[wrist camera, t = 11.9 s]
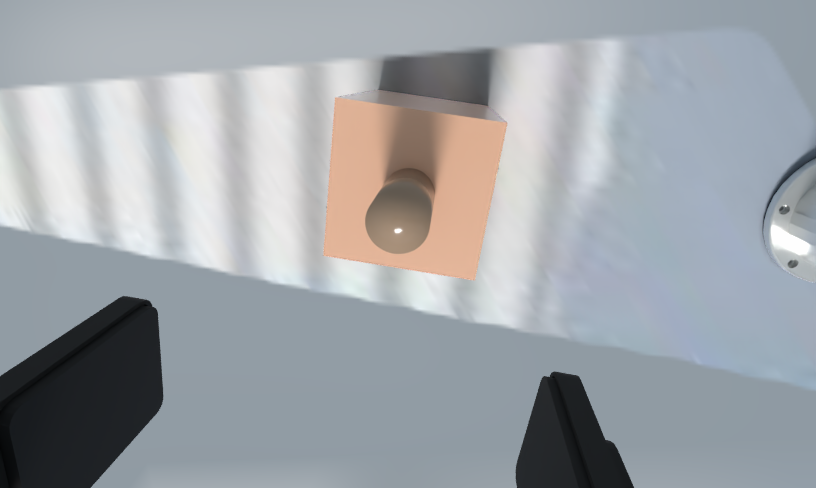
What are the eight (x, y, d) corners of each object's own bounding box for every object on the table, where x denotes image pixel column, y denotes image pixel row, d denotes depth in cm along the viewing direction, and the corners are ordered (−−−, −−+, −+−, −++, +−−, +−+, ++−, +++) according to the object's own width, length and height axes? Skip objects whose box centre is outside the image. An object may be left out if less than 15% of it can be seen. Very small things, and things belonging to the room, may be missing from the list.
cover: (488, 105, 41) (521, 135, 20) (468, 211, 44) (479, 328, 24) (378, 89, 41) (302, 102, 21) (367, 195, 45) (293, 297, 24)
